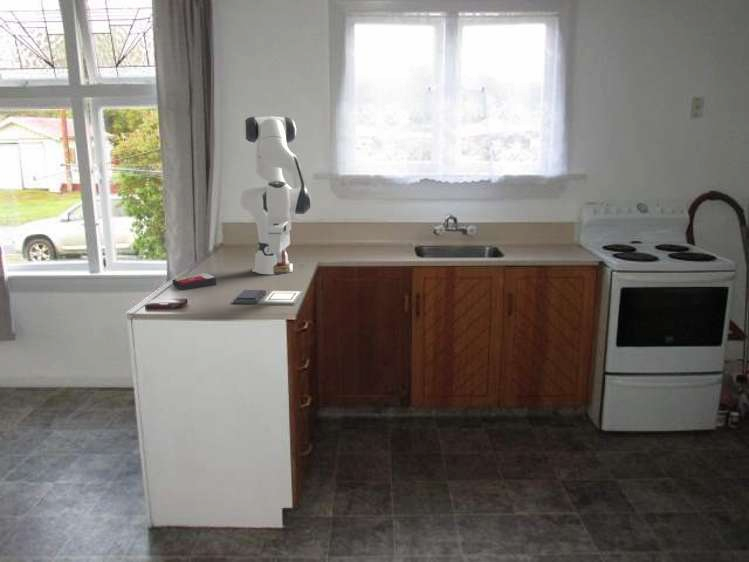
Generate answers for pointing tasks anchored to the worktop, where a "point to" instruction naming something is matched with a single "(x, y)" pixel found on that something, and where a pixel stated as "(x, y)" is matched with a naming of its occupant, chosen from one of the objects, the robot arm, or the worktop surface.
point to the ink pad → (249, 297)
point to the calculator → (194, 281)
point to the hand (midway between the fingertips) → (281, 261)
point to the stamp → (281, 266)
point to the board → (281, 298)
